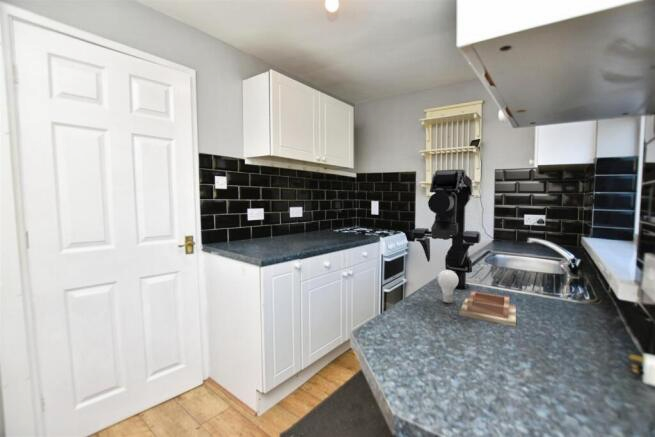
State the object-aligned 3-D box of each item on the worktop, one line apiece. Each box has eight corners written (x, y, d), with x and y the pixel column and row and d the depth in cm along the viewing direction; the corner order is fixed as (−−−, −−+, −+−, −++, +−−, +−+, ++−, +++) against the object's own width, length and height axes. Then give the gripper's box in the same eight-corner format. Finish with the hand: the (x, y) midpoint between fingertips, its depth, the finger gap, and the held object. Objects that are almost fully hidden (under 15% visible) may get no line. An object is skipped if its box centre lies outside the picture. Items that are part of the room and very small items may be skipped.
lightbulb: (455, 300, 99) (457, 268, 99) (459, 307, 93) (460, 273, 92) (435, 298, 101) (436, 267, 100) (438, 305, 95) (439, 271, 94)
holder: (465, 301, 99) (466, 288, 98) (515, 309, 91) (516, 296, 91) (459, 315, 87) (459, 301, 87) (515, 326, 79) (516, 311, 79)
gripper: (406, 212, 87) (405, 264, 88) (477, 214, 77) (475, 273, 78) (417, 210, 96) (416, 257, 97) (481, 212, 86) (479, 265, 87)
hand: (444, 263), depth 90 cm, fingers open, 9 cm apart
